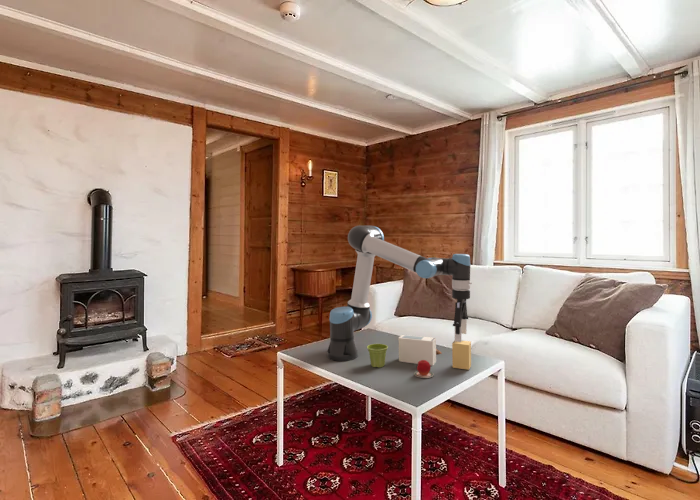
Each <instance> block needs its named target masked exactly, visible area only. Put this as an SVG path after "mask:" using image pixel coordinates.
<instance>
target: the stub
mask: <svg viewBox="0 0 700 500" xmlns="http://www.w3.org/2000/svg"><path fill="white" fill-rule="evenodd" d="M451 345H452V346H451V348H452V350H451V351H452V357H451V358H452V359H451V360H452V368H453V369H460V370H461V369H462V370H467V371H468V370H470V368H471V367H472V341H470V340H469V341H468V340H463V339H461V342H457V341H455V339H454V340H453V341H452V343H451Z"/></svg>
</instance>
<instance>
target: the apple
mask: <svg viewBox="0 0 700 500" xmlns="http://www.w3.org/2000/svg"><path fill="white" fill-rule="evenodd" d="M431 367H432V366H431V365H430V364H429V362H428V361H426V360H421V361H419V362H418V364H417V367H416V370H417V371H415V372H414V373H413V375H414V376H415V377H417V378H422V379H428V378H433V377H434V374H435V373H433V372H431Z"/></svg>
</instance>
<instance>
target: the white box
mask: <svg viewBox="0 0 700 500" xmlns="http://www.w3.org/2000/svg"><path fill="white" fill-rule="evenodd" d="M436 349H437V338H436V337H432V336H431V337H430V336H420V335H409V334H408V335H407V334H406V335H405V334H402V335H400V336H398V362H401V363H402V362H403V363H410V364H417V365H418V362H419V361H421V360H426V361H428V362H429V364H430V367H433V366H434V365H435V364H436V363H437V355H436Z"/></svg>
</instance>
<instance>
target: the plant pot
mask: <svg viewBox="0 0 700 500" xmlns="http://www.w3.org/2000/svg"><path fill="white" fill-rule="evenodd" d="M366 348H367V350H368V352H369V354H368V355H369V360H370V366H371V367H373V368H384V366H385V365H386V355H387V350H388V348H389V346H388V345H387V344H383V343H373V344H372V343H371V344H368V345H367V346H366Z"/></svg>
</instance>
